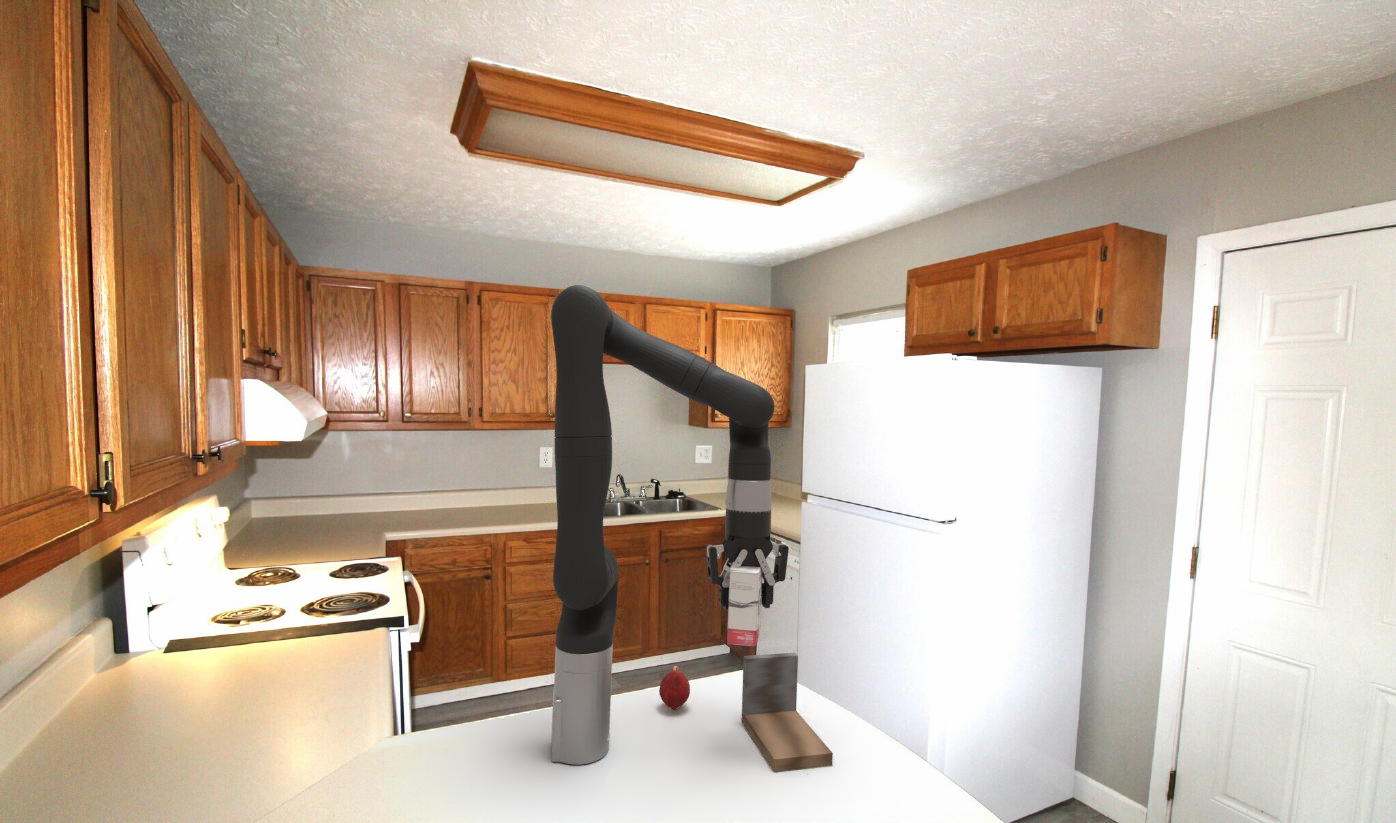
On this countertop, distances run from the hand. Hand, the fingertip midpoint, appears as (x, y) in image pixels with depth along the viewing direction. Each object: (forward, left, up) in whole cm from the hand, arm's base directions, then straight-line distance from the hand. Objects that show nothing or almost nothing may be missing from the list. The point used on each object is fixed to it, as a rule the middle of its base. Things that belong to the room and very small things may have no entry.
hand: (745, 607), depth 101 cm
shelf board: (+8, +2, -24) cm, 25 cm away
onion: (-8, +17, -24) cm, 31 cm away
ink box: (0, 0, -5) cm, 5 cm away
